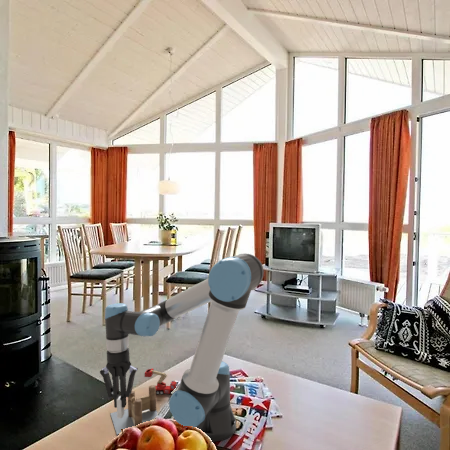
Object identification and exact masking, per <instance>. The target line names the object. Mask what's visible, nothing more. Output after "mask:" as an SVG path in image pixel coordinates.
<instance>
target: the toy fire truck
mask: <svg viewBox="0 0 450 450" xmlns="http://www.w3.org/2000/svg"><path fill="white" fill-rule="evenodd" d="M153 375H157V376H160V377H159V379H158V381H157V382H156V385H155V386H156V395H163V394H167V395H171V392H172V391H173V390H174V389H175V388H176V386H178V383H177V382H176V381H175V380H171V382H170V384H169V385H167V383H166V382H164V381H165V380H166V378H167V377H168V374H166V373H165V372H161V371H157V370H154V368H148V369H146V370H145V371H144V378H151V377H152V376H153Z"/></svg>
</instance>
